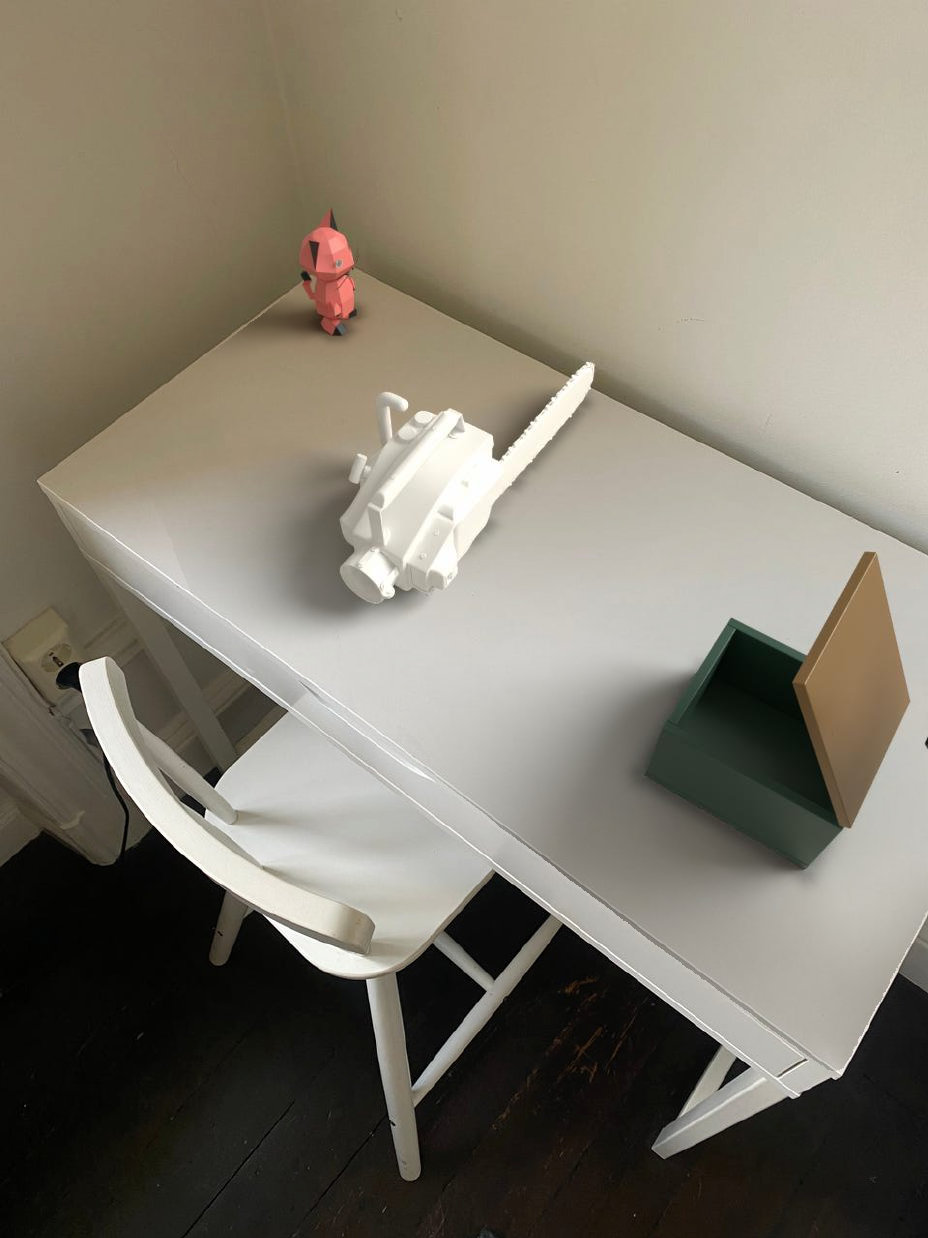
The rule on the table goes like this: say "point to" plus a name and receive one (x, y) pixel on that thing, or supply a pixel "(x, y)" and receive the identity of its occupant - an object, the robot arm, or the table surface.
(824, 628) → the lid
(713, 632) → the table surface
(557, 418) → the chainsaw
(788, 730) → the green open box
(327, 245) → the cat figurine
